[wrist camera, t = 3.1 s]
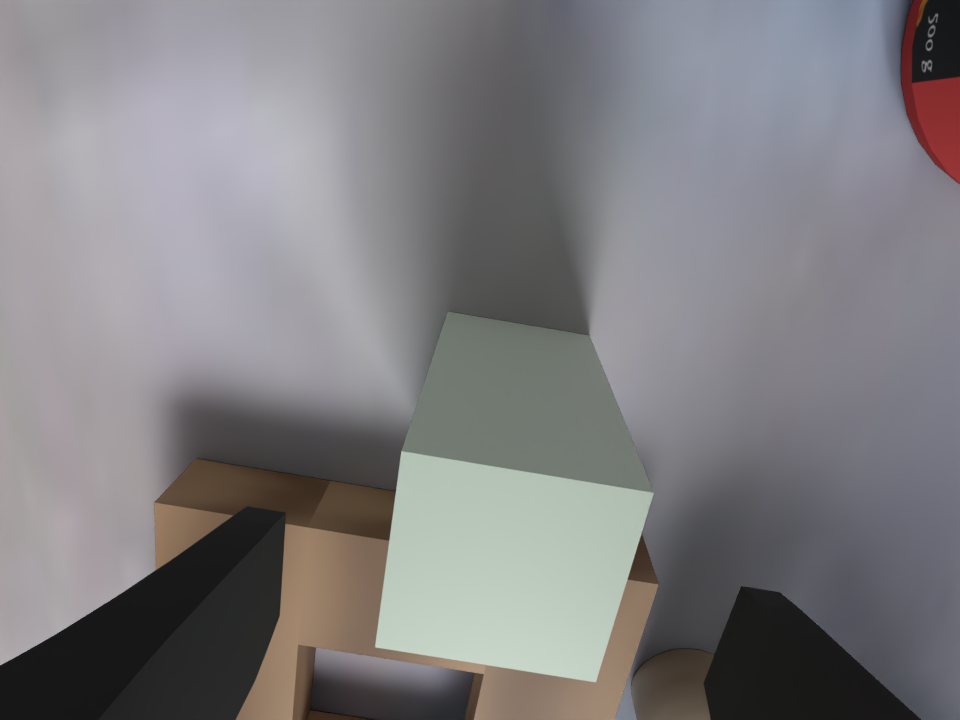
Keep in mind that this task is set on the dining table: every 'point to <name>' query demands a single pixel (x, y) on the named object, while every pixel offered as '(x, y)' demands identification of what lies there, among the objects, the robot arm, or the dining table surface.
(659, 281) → the dining table surface
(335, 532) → the socket block
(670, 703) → the birch dowel
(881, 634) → the dining table surface
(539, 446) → the square peg
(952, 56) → the canned food
